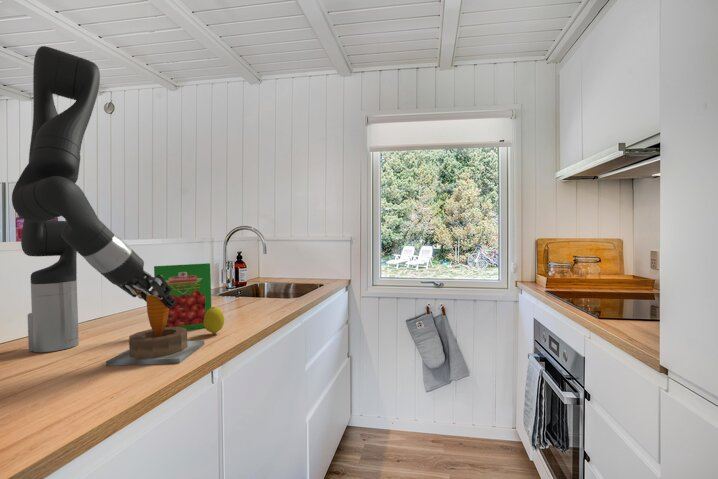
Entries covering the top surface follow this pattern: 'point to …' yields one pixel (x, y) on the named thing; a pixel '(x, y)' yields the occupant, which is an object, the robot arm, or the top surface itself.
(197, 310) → the tomato puree packet
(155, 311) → the carrot
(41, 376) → the top surface
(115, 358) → the collar board
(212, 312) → the lemon
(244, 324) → the top surface
